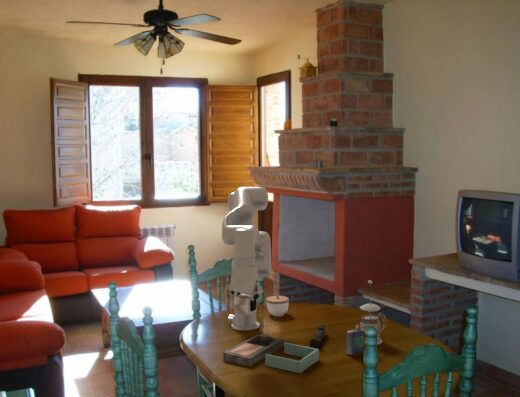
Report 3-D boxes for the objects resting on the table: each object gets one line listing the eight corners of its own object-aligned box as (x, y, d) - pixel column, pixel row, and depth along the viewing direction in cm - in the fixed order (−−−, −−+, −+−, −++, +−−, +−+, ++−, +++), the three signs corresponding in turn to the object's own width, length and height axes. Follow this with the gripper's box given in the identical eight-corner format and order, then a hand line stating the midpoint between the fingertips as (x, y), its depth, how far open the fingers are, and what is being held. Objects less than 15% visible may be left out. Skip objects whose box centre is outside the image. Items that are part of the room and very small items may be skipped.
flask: (348, 355, 206) (348, 328, 205) (345, 353, 209) (345, 325, 208) (370, 352, 209) (370, 325, 208) (366, 350, 212) (366, 323, 211)
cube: (234, 312, 203) (234, 296, 203) (243, 308, 208) (243, 293, 208) (247, 315, 200) (247, 299, 199) (256, 311, 205) (256, 295, 204)
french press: (365, 335, 229) (365, 276, 227) (390, 341, 221) (391, 280, 219) (353, 341, 221) (353, 280, 219) (379, 347, 214) (379, 284, 212)
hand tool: (319, 349, 214) (319, 338, 213) (309, 348, 215) (309, 336, 215) (329, 334, 231) (329, 323, 231) (320, 333, 233) (320, 322, 232)
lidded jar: (261, 315, 259) (261, 295, 259) (275, 310, 268) (275, 291, 267) (279, 319, 253) (279, 299, 252) (293, 314, 261) (293, 294, 260)
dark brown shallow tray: (223, 360, 203) (223, 351, 203) (258, 341, 223) (258, 333, 223) (250, 366, 197) (250, 357, 197) (283, 346, 217) (283, 338, 217)
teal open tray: (265, 365, 198) (265, 354, 197) (285, 352, 210) (285, 342, 210) (300, 373, 190) (300, 362, 190) (318, 359, 202) (318, 349, 202)
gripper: (220, 261, 204) (221, 308, 205) (259, 265, 195) (259, 315, 196) (231, 257, 210) (232, 303, 212) (270, 261, 201) (270, 310, 202)
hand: (245, 308), depth 204 cm, fingers closed on cube, 6 cm apart
